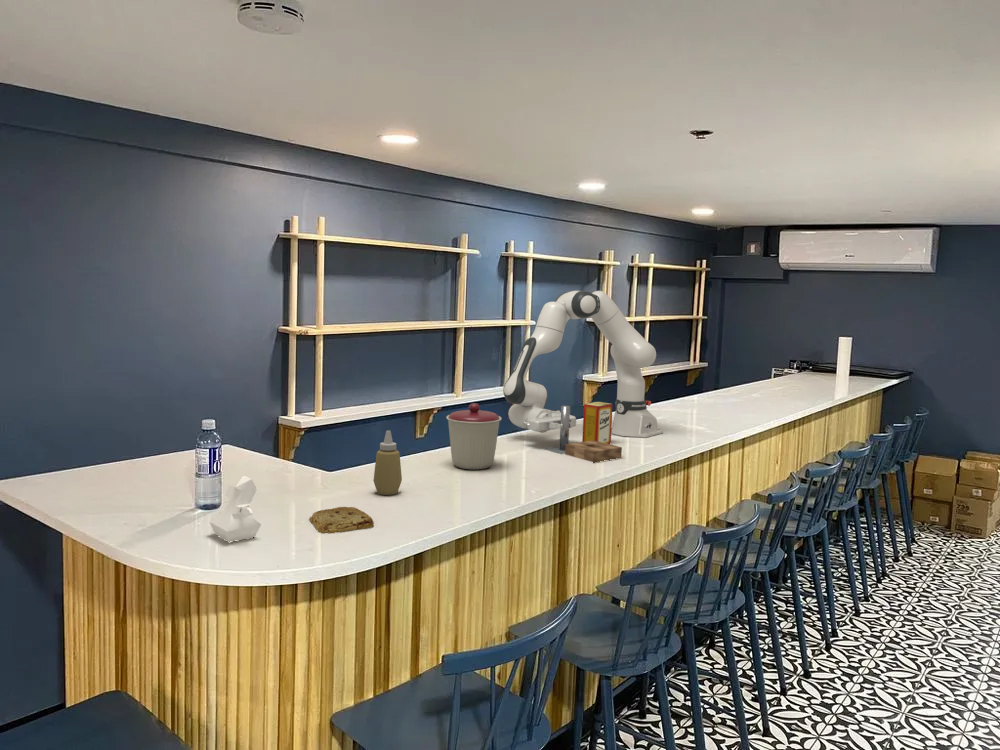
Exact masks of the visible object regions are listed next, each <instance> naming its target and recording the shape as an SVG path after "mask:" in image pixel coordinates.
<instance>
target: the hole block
mask: <svg viewBox="0 0 1000 750" xmlns="http://www.w3.org/2000/svg"><path fill="white" fill-rule="evenodd" d="M564 455H566V456H569V457H573V458H577V459H579V460H584V461H588V462H591V463H592V462H593V463H592V464H596V463H595V462H597V463H601V462H600V461H603V462H605V461H604V460H609V461H611V460H610V459H615V460H617V459H616V458H621V459H622V447H621V446H618V445H613V444H606V443H602V442H598V441H594V440H592V441H586V442H582V441H580V442H572V443H568V444H566V445H565V454H564Z"/></svg>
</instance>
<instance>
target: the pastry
mask: <svg viewBox="0 0 1000 750" xmlns="http://www.w3.org/2000/svg"><path fill="white" fill-rule="evenodd" d="M308 520H310V521H309V522H310V523H311V524H312V525H313V527H314V526H315V527H314V529H315V530H316V531H317V530H318V531H317V532H318V533H320V532H321V533H320V534H325V533H328V534H336V533H335V532H340V533H346V531H347V532H350V531H351V532H352V531H357V530H358V529H359V530H365V529H370V528H374V524H375V523H374V520H373V518H372V517H371V516H370V515H369V514H367V513H366V512H364V511H362V510H361V509H358V508H357V507H355V506H338V507H333V508H327V509H321V510H317V511H315V512H313V513H312V515H311V516H310V517H309V518H308Z"/></svg>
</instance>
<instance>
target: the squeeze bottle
mask: <svg viewBox="0 0 1000 750" xmlns="http://www.w3.org/2000/svg"><path fill="white" fill-rule="evenodd" d="M374 465H375V466H374V473H373V484H374V487H375V490H376V493H377V494H378V495H383V496H389V495H392V496H393V495H396V494H398V493H399V489H400V487H401V484H402V481H403V477H402V476H403V475H402V466H401V465H402V464H401V454H400V451H399V450H397V443H396V442H393V436H392V432H391V430H386V431H385V436H384V439H383V442H380V443H379V450H378V451H377V452H376V456H375V463H374Z"/></svg>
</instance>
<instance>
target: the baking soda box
mask: <svg viewBox="0 0 1000 750" xmlns="http://www.w3.org/2000/svg"><path fill="white" fill-rule="evenodd" d="M582 420H583V421H582V441H581V442H586V441H592V440H594V441H598V442H602V443H606V444H610V443H612V433H611V431H612V430H611V428H612V427H613V423H612V422H613V421H612V420H613V403H608V402H603V401H594V402H589V403H584V404H583V419H582ZM610 445H611V444H610Z"/></svg>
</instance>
